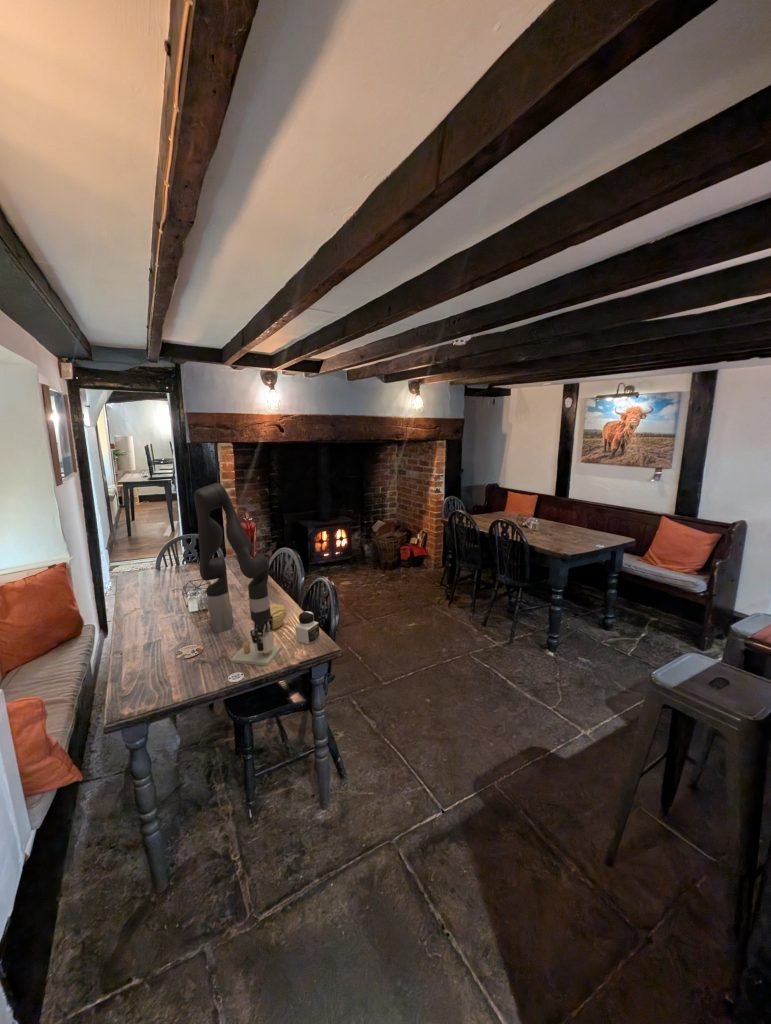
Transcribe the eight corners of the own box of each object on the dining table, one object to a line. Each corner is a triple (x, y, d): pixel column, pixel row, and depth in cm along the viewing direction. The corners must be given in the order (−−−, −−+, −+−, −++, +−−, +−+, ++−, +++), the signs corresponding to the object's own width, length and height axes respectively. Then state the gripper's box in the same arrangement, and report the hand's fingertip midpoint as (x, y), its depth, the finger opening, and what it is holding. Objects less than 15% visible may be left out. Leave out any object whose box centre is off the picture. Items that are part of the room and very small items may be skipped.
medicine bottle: (309, 645, 173) (307, 618, 171) (296, 641, 177) (293, 615, 174) (320, 637, 179) (317, 611, 177) (307, 633, 183) (304, 608, 180)
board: (246, 646, 174) (244, 635, 173) (281, 649, 171) (280, 637, 170) (230, 662, 163) (228, 650, 162) (268, 665, 159) (266, 653, 158)
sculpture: (270, 635, 183) (268, 612, 180) (254, 628, 190) (251, 606, 188) (290, 624, 192) (288, 603, 189) (274, 618, 199) (272, 597, 196)
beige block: (261, 644, 168) (260, 631, 167) (274, 645, 167) (272, 632, 166) (255, 651, 163) (253, 637, 162) (267, 652, 162) (266, 638, 161)
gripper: (260, 598, 169) (264, 637, 172) (241, 614, 155) (246, 655, 159) (277, 599, 167) (281, 638, 171) (259, 615, 154) (264, 657, 157)
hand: (264, 646), depth 165 cm, fingers closed on beige block, 5 cm apart
